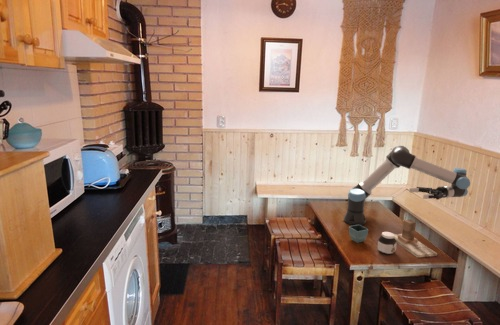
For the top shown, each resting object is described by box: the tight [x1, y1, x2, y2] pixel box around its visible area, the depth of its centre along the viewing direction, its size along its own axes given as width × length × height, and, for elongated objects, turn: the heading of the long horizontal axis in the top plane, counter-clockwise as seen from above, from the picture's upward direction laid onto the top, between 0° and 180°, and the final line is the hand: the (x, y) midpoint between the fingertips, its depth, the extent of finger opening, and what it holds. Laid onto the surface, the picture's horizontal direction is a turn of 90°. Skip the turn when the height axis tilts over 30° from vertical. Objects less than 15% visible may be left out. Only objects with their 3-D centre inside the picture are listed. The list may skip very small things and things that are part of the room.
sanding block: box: [398, 219, 419, 244], centre depth 210 cm, size 9×7×13 cm
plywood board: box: [393, 233, 438, 258], centre depth 207 cm, size 13×28×2 cm, turn 11°
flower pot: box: [348, 225, 369, 244], centre depth 212 cm, size 9×9×9 cm
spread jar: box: [377, 231, 398, 256], centre depth 200 cm, size 12×11×12 cm
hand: (416, 193), depth 220 cm, fingers open, 13 cm apart
